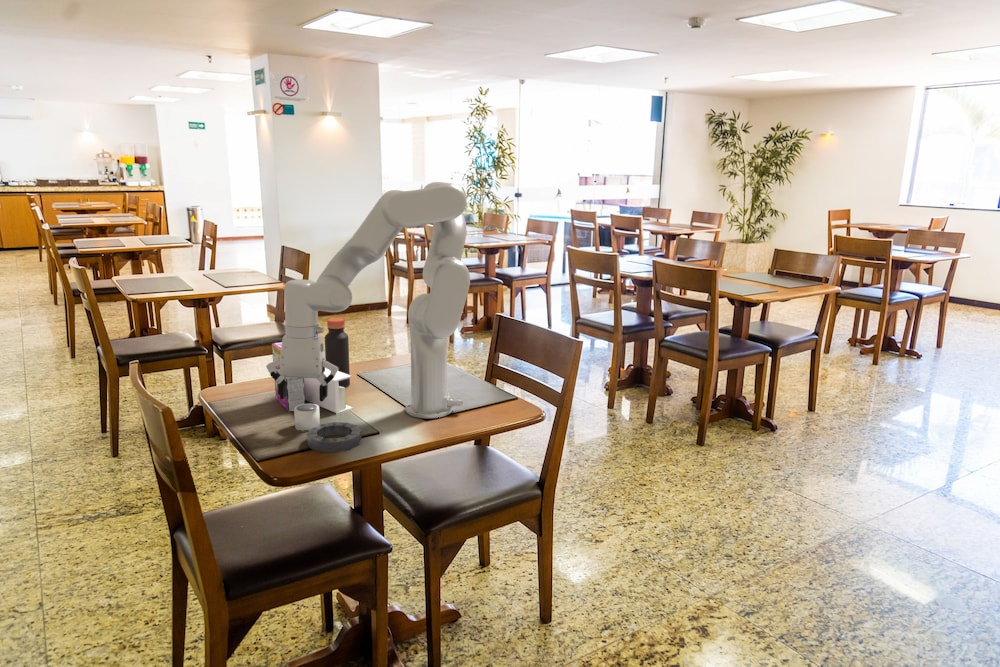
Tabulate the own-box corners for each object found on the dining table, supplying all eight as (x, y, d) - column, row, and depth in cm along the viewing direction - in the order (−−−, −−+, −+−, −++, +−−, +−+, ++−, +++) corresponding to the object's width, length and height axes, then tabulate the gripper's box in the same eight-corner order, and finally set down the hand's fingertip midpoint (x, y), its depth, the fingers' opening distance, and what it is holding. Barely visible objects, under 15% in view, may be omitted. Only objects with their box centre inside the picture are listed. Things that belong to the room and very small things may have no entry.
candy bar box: (274, 400, 184) (270, 343, 180) (292, 397, 187) (289, 340, 183) (287, 412, 175) (284, 352, 171) (306, 409, 178) (303, 350, 174)
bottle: (338, 390, 193) (335, 323, 188) (321, 386, 197) (318, 320, 192) (354, 384, 199) (352, 319, 194) (338, 380, 202) (336, 316, 197)
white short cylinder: (322, 422, 170) (321, 403, 168) (316, 431, 164) (315, 411, 163) (299, 421, 170) (298, 402, 168) (291, 431, 164) (290, 411, 162)
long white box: (353, 409, 179) (352, 376, 177) (336, 414, 175) (334, 380, 173) (310, 392, 192) (309, 360, 190) (293, 396, 188) (291, 364, 186)
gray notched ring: (365, 432, 164) (365, 422, 163) (354, 453, 152) (354, 442, 152) (316, 431, 164) (315, 421, 163) (301, 451, 152) (301, 441, 151)
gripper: (341, 329, 164) (341, 395, 168) (271, 326, 164) (273, 392, 168) (333, 336, 157) (334, 405, 161) (260, 333, 157) (262, 402, 161)
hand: (303, 398), depth 165 cm, fingers open, 9 cm apart
